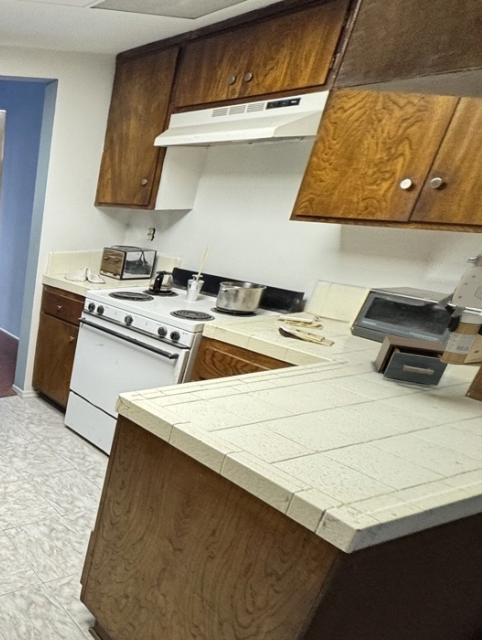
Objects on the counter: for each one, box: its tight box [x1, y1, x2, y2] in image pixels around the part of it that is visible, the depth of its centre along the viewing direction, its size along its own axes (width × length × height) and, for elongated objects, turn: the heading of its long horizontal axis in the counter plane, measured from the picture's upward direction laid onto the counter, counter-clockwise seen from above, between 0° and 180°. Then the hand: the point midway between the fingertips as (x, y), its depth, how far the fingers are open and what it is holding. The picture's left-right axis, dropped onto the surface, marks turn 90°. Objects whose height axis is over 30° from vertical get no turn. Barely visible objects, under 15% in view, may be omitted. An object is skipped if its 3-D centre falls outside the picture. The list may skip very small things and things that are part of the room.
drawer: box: [383, 347, 449, 387], centre depth 143 cm, size 18×11×8 cm, turn 139°
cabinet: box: [374, 334, 446, 374], centre depth 150 cm, size 15×13×10 cm
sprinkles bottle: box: [440, 313, 482, 366], centre depth 126 cm, size 5×5×14 cm
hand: (465, 332), depth 126 cm, fingers closed on sprinkles bottle, 4 cm apart
